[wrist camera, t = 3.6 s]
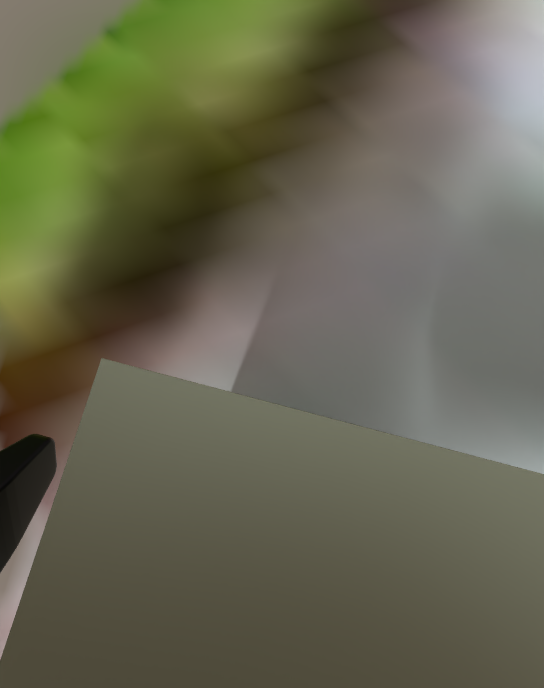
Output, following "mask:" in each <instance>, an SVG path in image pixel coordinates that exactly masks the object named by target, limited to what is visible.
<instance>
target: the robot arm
mask: <svg viewBox="0 0 544 688" xmlns="http://www.w3.org/2000/svg"><path fill="white" fill-rule="evenodd" d="M56 467H57V462H56V451H55V442H54V440H53V439H52V438H50V437H46V436H42V435H39V434H31V435H29V436H27V437H25V438H23V439H21V440H20V441H18V442H16V443H14V444H12V445H10V446H9V447H7V448H5V449H3V450H1V451H0V573H1V571H2V570H3V568H4V566H5V565H6V563H7V562H8V560H9V559H10V557H11V556H12V554H13V552H14V551H15V549H16V548H17V546H18V544H19V542H20V540H21V539H22V537H23V535H24V533H25V531H26V529H27V527H28V525H29V523H30V521H31V520H32V518H33V516H34V514H35V512H36V510H37V508H38V506H39V504H40V502H41V500H42V498H43V496H44V495H45V493H46V491H47V489H48V487H49V485H50V483H51V481H52V479H53V477H54V475H55V472H56Z"/></svg>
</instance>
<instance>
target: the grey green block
mask: <svg viewBox="0 0 544 688" xmlns="http://www.w3.org/2000/svg"><path fill="white" fill-rule="evenodd" d="M0 688H544V474H541V473H537V472H533V471H529V470H525V469H522V468H518V467H514V466H510V465H506V464H503V463H499V462H495V461H491V460H487V459H484V458H480V457H476V456H472V455H468V454H464V453H461V452H457V451H453V450H449V449H445V448H442V447H438V446H434V445H430V444H426V443H423V442H419V441H415V440H411V439H407V438H404V437H400V436H396V435H392V434H388V433H385V432H381V431H377V430H373V429H369V428H366V427H362V426H358V425H354V424H350V423H346V422H343V421H339V420H335V419H331V418H327V417H324V416H320V415H316V414H312V413H308V412H305V411H301V410H297V409H293V408H289V407H286V406H282V405H278V404H274V403H270V402H267V401H263V400H259V399H255V398H251V397H248V396H244V395H240V394H236V393H232V392H229V391H225V390H221V389H217V388H213V387H209V386H206V385H202V384H198V383H194V382H190V381H187V380H183V379H179V378H175V377H171V376H168V375H164V374H160V373H156V372H152V371H149V370H145V369H141V368H137V367H133V366H130V365H126V364H122V363H118V362H114V361H111V360H107V359H103V358H102V359H101V362H100V365H99V368H98V371H97V374H96V377H95V380H94V383H93V386H92V389H91V392H90V395H89V398H88V401H87V404H86V407H85V410H84V413H83V416H82V419H81V422H80V425H79V428H78V431H77V434H76V437H75V440H74V442H73V445H72V448H71V451H70V454H69V457H68V460H67V463H66V466H65V469H64V472H63V475H62V478H61V481H60V484H59V487H58V490H57V493H56V496H55V499H54V502H53V505H52V508H51V511H50V514H49V517H48V520H47V523H46V526H45V529H44V532H43V535H42V538H41V541H40V544H39V547H38V550H37V553H36V556H35V559H34V562H33V565H32V568H31V571H30V574H29V577H28V579H27V582H26V585H25V588H24V591H23V594H22V597H21V600H20V603H19V606H18V609H17V612H16V615H15V618H14V621H13V624H12V627H11V630H10V633H9V636H8V639H7V642H6V645H5V648H4V651H3V654H2V657H1V660H0Z"/></svg>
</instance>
